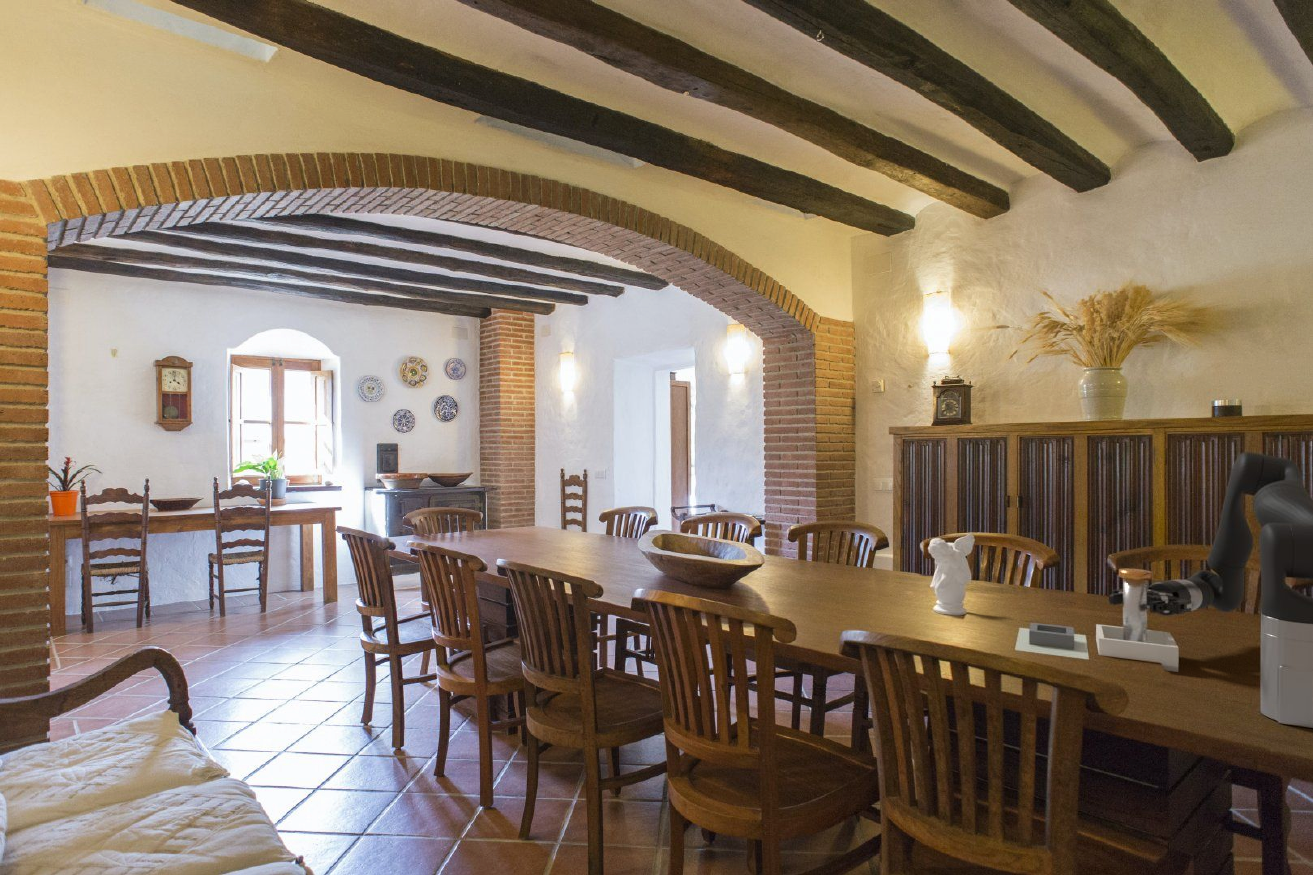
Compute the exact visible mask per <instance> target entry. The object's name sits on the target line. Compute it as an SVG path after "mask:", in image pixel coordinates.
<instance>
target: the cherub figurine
mask: <svg viewBox="0 0 1313 875" xmlns="http://www.w3.org/2000/svg"><path fill="white" fill-rule="evenodd" d="M975 541H976V539H975V535H973V533H972V532H970V533H968V534H967V535H965V536H962V537H959V538H957V539H955V541H954V542H946V540H945V539H942V538H941V537H935V538H932V539H931V540H929V545H928V547H927V550H928V554H930V555H931V557H932V559H934V564H935V565H936V569H935V571H934V574H933V578H932V581H931V582H930V585H929V586H930V588H931V589H934V592H935V597H936V599H937V600H936V601H935V603H936V605H934V606H933V607H932V608H933V611H934V612H935V613H937V614H941V615H950V616H962V615H966V614H967V612H968V611H967V609H966V608H965V607H964V606H965V603H964V600H965V598H966V592H967V591H966V587H965V585H966V586H967V585H968V584H970V583H971V580H972V572H971V569H970V565H969V563H968V562H969V560H968V559H967V558H966V557H967V556H968V555H970V554H971V553H972V552H973V548H974V544H975Z"/></svg>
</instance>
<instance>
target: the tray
mask: <svg viewBox="0 0 1313 875" xmlns="http://www.w3.org/2000/svg"><path fill="white" fill-rule="evenodd" d="M1095 628H1096V630H1095V640H1096V647H1097V651H1098V655H1099V656H1105V657H1110V658H1111V657H1113V658H1120V659H1129V660H1137V661H1142V662H1143V661H1144V662H1152V663H1160V664H1161V666H1162V668H1163V670H1164V671H1166V672H1167V671H1168V672H1173V673H1174V672H1177V673H1179V651H1180V650H1179V649H1180V648H1179V646H1178V644H1177V642H1176V641H1175V639H1174V637H1173V636H1172V634H1171V632H1170V631H1161V630H1153V629H1147V643H1144V642H1135V641H1126V640H1123V626H1116V625H1108V624H1107V625H1106V624H1098V623H1096V624H1095Z"/></svg>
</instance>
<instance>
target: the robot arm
mask: <svg viewBox="0 0 1313 875" xmlns="http://www.w3.org/2000/svg"><path fill="white" fill-rule="evenodd" d="M1227 483H1228V484H1227V488H1226V492H1225V494H1224V495H1225V496H1224V500H1223V505H1222V508H1221V509H1222V510H1221V514H1220V519H1219V524H1218V525H1219V526H1218V529H1217V532H1216V536H1215V538H1214V541H1213V544H1212V546H1211V549H1210V551H1209V554H1208V557H1207V560H1206V562H1207V565H1208V567H1209V568H1210V569H1211V570H1212V571H1213V572H1212V571H1210V570H1207V569H1206V570H1205V569H1201V570H1198V571H1196V572H1195V573H1193V574H1192V576H1190V577H1188V578H1185V579H1180V578H1179V579H1178V578H1177V579H1169V580H1161V581H1156V582H1153V583H1152V584H1150V585H1149V586H1147V609H1149V613H1151V614H1158V615H1161V616H1165V617H1166V616H1173V615H1174V616H1175V615H1181V614H1186V613H1190V612H1192V611H1197V610H1202V609H1205V608H1208V607H1209V606H1210V607H1212V608H1214V609H1216V610H1217V611H1220V612H1223V613H1230V612H1233V611H1235V610H1237V609H1238V608H1239V607H1240V605H1241V604H1242V601H1243V600H1244V594H1245V569H1246V566H1247V564H1248V561H1249V560H1250V556H1251V554H1252V552H1253V550H1254V549H1253V548H1254V536H1253V533H1252V531H1251V528H1250V525H1249V523H1248V521H1247V518H1246V515H1245V513H1244V509H1243V498H1244V495H1247V496H1253V499H1252V503H1251V504H1252V511H1253V514H1254V515H1255V518H1256V521H1257V523H1258V524H1259V525H1260V527H1261V530H1260V533H1259V538H1258V539H1259V540H1258V547H1259V549H1258V550H1259V563H1260V579H1261V580H1260V581H1261V587H1260V588H1261V591H1260V592H1261V594H1260V595H1261V598H1260V687H1259V688H1260V714H1262V715H1264V716H1265V717H1268V718H1270V719H1272V720H1275V721H1277V722H1278V723H1279V724H1283V725H1290V726H1291V725H1292V726H1297V727H1304V728H1310V729H1311V728H1312V729H1313V597H1312V596H1311V597H1310V596H1308V595H1305V594H1303V593H1301V592H1299V591H1297V590H1295V589H1294V588H1293V587H1290V585H1288V584H1287V583H1286V578H1290V579H1291V578H1292V579H1293V578H1294V579H1304V580H1313V498H1312V496H1310V494H1309V493H1308V491H1307V489H1306V488H1305V485H1304V482H1303V478H1302V474H1301V471H1300V468H1299V466H1298V465H1297V463H1296V462H1295V461H1292V460H1290V459H1288V458H1283V457H1278V456H1272V455H1269V454H1268V455H1267V454H1262V453H1256V452H1251V451H1244V452H1241V454H1240V455H1238V456H1237V458H1236V460H1235V461H1234V464H1233V466H1232V468H1231V471H1230V475H1229V479H1228V482H1227ZM1108 602H1109V605H1113V606H1116V605H1123V588H1119V589H1117V588H1116V589H1112V590H1111V594H1109V595H1108Z"/></svg>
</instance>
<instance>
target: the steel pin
mask: <svg viewBox="0 0 1313 875" xmlns="http://www.w3.org/2000/svg"><path fill="white" fill-rule="evenodd" d="M1152 575H1153V574H1152V571H1150V570H1147V569H1142V568H1141V569H1139V568H1129V567H1128V568H1119V569H1118V577H1119V578H1121V579H1122V589H1123V604H1122V627H1123V640H1126V641H1135V642H1144V643H1147V630H1148V608H1147V589H1148V581H1152V579H1153V578H1152Z"/></svg>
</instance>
